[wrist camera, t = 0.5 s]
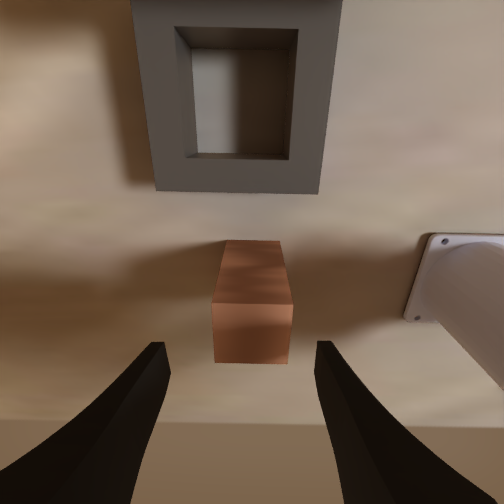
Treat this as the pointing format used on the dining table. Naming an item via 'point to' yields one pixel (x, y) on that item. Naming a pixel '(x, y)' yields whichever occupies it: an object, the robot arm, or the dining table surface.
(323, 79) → the socket
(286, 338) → the peg
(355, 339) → the dining table surface
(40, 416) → the dining table surface
